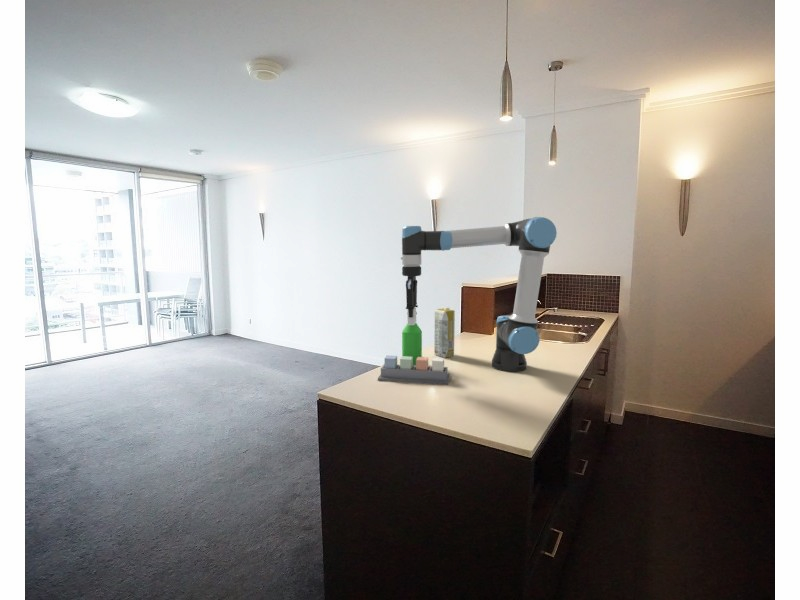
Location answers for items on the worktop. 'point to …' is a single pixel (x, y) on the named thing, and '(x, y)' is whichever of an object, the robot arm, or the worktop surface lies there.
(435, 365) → the key cream
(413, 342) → the bottle
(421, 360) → the key terracotta
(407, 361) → the key sage
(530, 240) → the robot arm
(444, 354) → the juice carton
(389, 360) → the key slate
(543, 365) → the worktop surface
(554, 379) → the worktop surface
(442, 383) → the keypad
